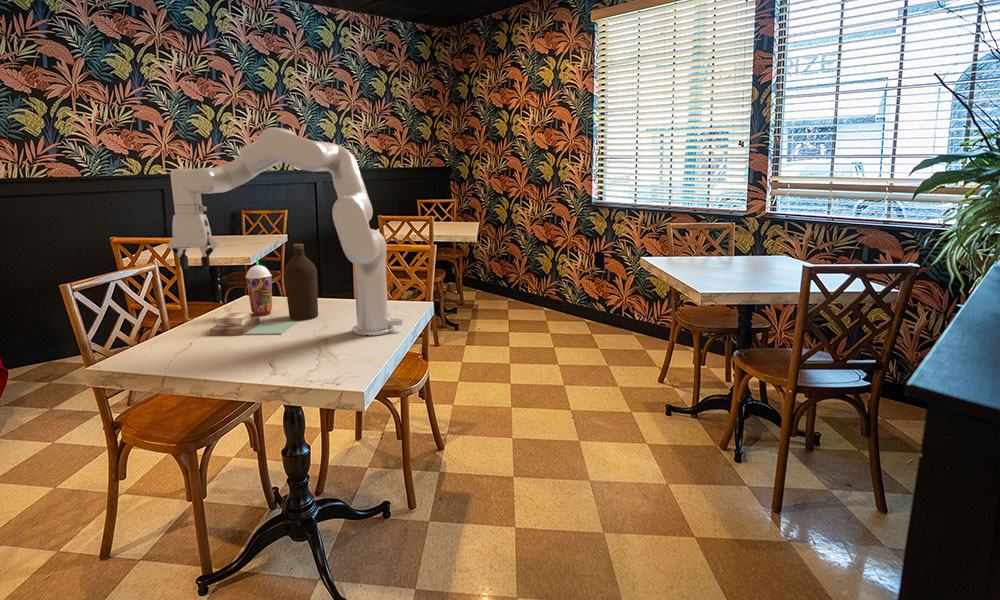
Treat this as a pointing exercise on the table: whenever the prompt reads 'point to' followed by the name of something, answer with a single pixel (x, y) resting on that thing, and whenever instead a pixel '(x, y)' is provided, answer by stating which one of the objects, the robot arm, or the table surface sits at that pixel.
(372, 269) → the robot arm
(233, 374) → the table surface
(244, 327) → the deck
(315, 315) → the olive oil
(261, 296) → the smoothie
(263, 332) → the mat
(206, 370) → the table surface
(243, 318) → the tile
